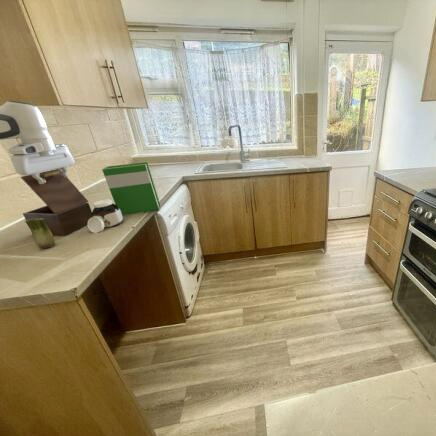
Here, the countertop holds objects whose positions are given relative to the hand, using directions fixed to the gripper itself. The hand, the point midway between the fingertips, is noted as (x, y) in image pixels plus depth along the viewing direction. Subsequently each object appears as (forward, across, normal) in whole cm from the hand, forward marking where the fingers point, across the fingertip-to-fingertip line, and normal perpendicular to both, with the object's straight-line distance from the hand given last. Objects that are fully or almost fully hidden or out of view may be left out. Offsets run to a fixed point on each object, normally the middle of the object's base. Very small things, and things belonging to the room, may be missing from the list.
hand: (54, 180), depth 102 cm
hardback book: (+22, -21, +18) cm, 35 cm away
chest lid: (+4, 0, -1) cm, 4 cm away
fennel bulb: (+22, +16, +6) cm, 28 cm away
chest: (+22, 0, -4) cm, 23 cm away
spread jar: (+22, -2, +16) cm, 27 cm away
